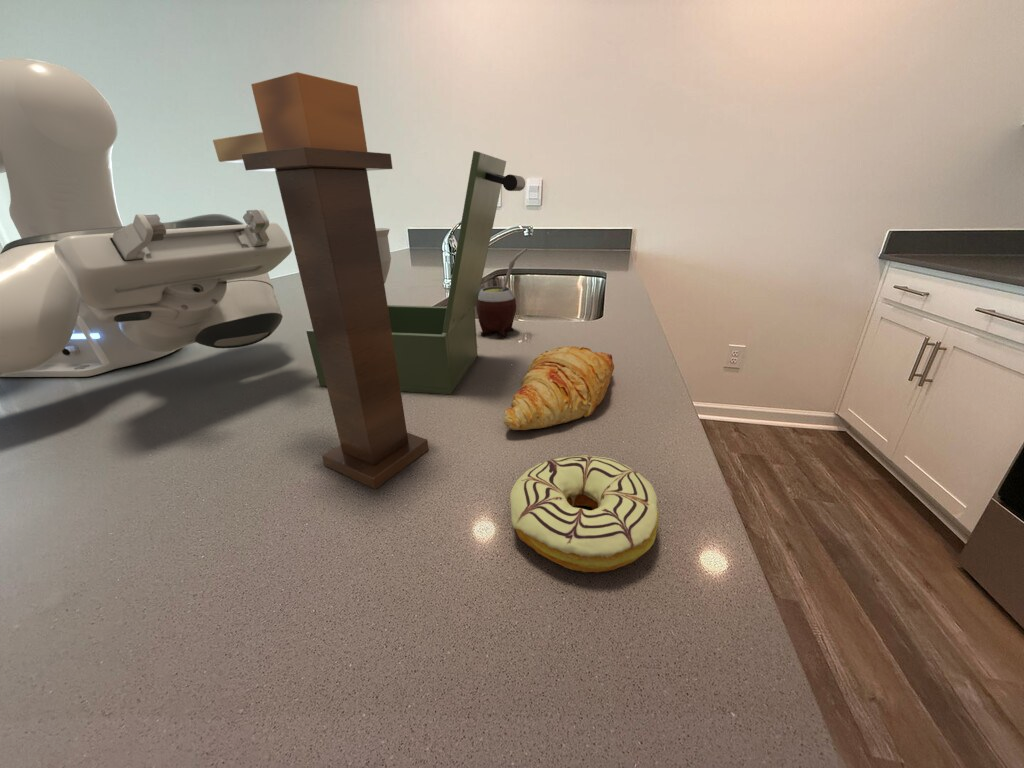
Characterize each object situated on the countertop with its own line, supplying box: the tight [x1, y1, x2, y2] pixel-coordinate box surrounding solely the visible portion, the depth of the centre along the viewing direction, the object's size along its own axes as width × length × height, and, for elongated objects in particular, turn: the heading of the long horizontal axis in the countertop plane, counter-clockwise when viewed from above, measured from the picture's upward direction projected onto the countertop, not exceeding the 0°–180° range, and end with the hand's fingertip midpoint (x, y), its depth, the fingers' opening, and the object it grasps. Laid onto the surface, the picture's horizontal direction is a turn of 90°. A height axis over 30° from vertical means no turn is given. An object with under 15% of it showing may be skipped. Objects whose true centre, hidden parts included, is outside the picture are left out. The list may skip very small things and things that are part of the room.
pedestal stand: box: [242, 147, 430, 490], centre depth 34 cm, size 7×7×26 cm
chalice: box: [376, 227, 392, 284], centre depth 72 cm, size 7×7×18 cm
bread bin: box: [306, 304, 478, 395], centre depth 58 cm, size 19×14×8 cm
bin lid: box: [443, 150, 526, 334], centre depth 50 cm, size 19×14×4 cm
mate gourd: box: [475, 247, 528, 339], centre depth 71 cm, size 8×8×15 cm
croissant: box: [503, 345, 615, 431], centre depth 48 cm, size 21×10×8 cm, turn 141°
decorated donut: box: [509, 454, 660, 574], centre depth 30 cm, size 10×11×4 cm
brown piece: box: [212, 71, 368, 164], centre depth 30 cm, size 14×4×4 cm, turn 59°
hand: (210, 218), depth 39 cm, fingers open, 8 cm apart
